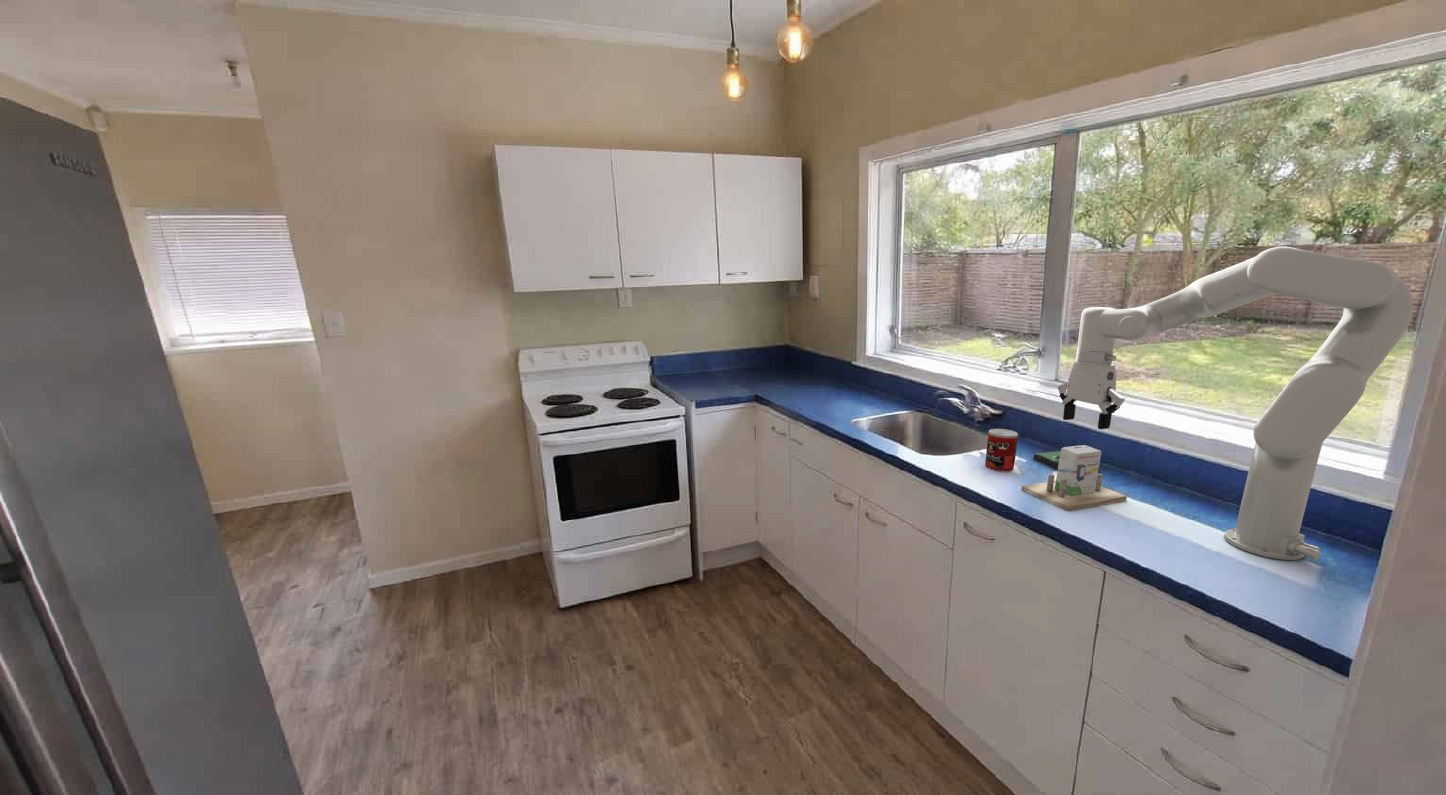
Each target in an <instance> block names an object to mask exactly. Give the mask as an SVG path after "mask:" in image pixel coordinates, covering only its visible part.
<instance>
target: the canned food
mask: <svg viewBox="0 0 1446 795" xmlns="http://www.w3.org/2000/svg"><path fill="white" fill-rule="evenodd" d="M1018 439H1019V433H1018V432H1016V431H1014V430H1010V429H1006V428H991V429H989V430H988V434H987V441H986V442H987V443H986V451H985V461H984V464H985V467H986V468H988V469H989V468H990V469H989V470H992V469H993V471H996V470H997V471H999V472H1010V471H1013V470H1014V468H1015V463H1016V456H1017V449H1018V448H1017V447H1018V441H1019V440H1018ZM997 471H996V472H997Z"/></svg>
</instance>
